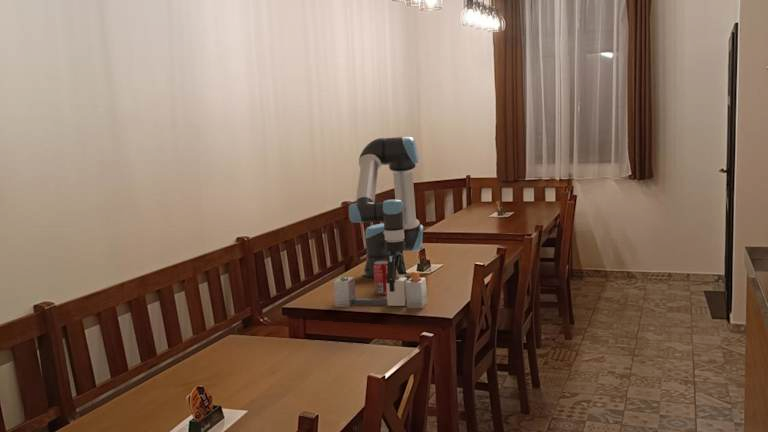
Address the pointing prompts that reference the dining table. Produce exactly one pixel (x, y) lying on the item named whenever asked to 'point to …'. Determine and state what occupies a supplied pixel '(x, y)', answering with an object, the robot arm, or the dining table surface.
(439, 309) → the dining table surface
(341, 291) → the rail and cabinets
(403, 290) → the carriage
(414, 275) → the plunger
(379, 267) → the soda can
